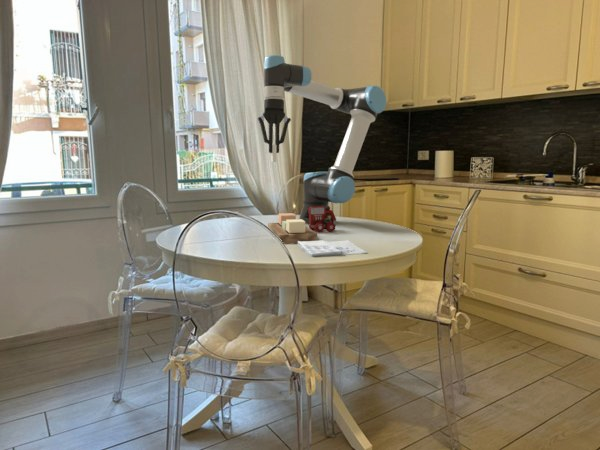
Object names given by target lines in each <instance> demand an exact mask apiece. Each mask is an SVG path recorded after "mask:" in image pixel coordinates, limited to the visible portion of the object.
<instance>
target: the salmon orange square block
mask: <svg viewBox="0 0 600 450" xmlns="http://www.w3.org/2000/svg"><path fill="white" fill-rule="evenodd" d="M277 217H278V221H277V222H278V223H279V224H280V225H281V226H282V221H286V220H291V219H297V215H296V214H295V213H294V212H293V213H292V212H291V213H290V212H289V213H288V212H287V213H284V212H283V213H278V216H277Z"/></svg>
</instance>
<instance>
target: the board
mask: <svg viewBox="0 0 600 450" xmlns="http://www.w3.org/2000/svg"><path fill="white" fill-rule="evenodd" d="M268 227H269V228H270V229H271V230H272V231H273V232H274V233H275V234H276V235H277V236H278V237H279V238H280V239H281V240H282V242H283V243H282V244H294V243H297V244H298V241H301V242H302V241H318V232H316V231H315V230H314V231H313V230H311V229H310V228H309V226H307V224H305V233H289V232H288V231H286V230H284V229H282V226H281V225H280V224H279V223H278V221H273V222H268V223H267V228H268Z"/></svg>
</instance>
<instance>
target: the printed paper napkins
mask: <svg viewBox="0 0 600 450" xmlns="http://www.w3.org/2000/svg"><path fill="white" fill-rule="evenodd" d="M297 245H298V246H299V247H300V248H301V249H302V250H303V251H305V252H306V253H307V254H308V255H309V256H311V257H330V256H346V255H347V256H351V255H367V254H368V251H367V250H364V249H362V248H361V247H359V246H358V245H357V244H354V243H353V242H352V241H350V240H349V239H347V240H340V241H339V240H338V241H337V240H336V241H334V240H333V241H327V240H325V239H321V240H320V239H319V240H317V241H302V242H301V241H298V243H297Z"/></svg>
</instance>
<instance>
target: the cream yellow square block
mask: <svg viewBox="0 0 600 450" xmlns="http://www.w3.org/2000/svg"><path fill="white" fill-rule="evenodd" d="M305 225H306V224H305V221H304V220H302V219H297V218H296V219H291V220H286V231H288V232H289V233H305Z"/></svg>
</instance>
